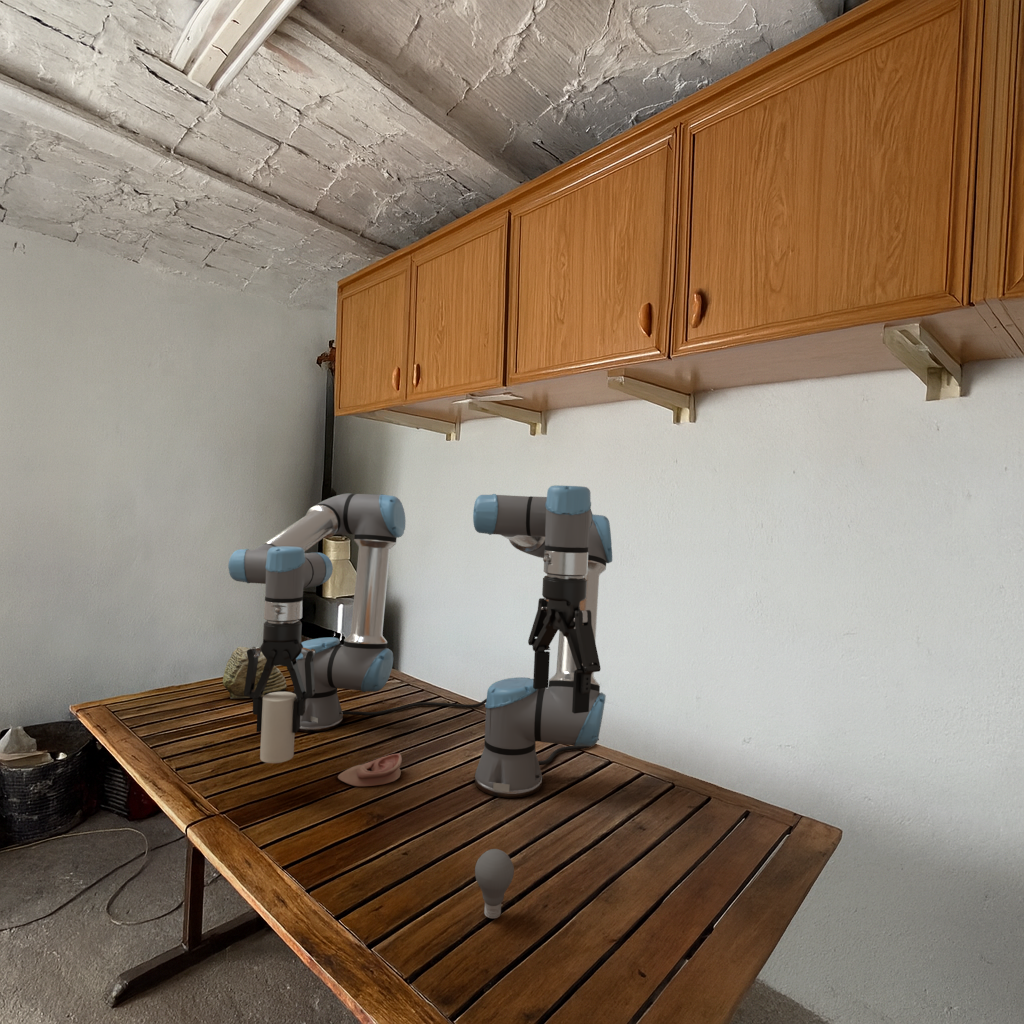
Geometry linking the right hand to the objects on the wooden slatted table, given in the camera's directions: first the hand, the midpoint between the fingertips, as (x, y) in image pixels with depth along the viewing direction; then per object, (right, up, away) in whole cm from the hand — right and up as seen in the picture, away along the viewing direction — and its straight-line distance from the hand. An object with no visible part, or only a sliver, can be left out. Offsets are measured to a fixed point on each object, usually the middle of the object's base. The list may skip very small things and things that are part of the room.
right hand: (559, 699), depth 109 cm
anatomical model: (-40, -28, +36) cm, 61 cm away
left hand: (-57, -14, +24) cm, 64 cm away
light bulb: (-11, -30, -11) cm, 34 cm away
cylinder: (-57, -19, +24) cm, 65 cm away
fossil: (-89, -25, +89) cm, 128 cm away
